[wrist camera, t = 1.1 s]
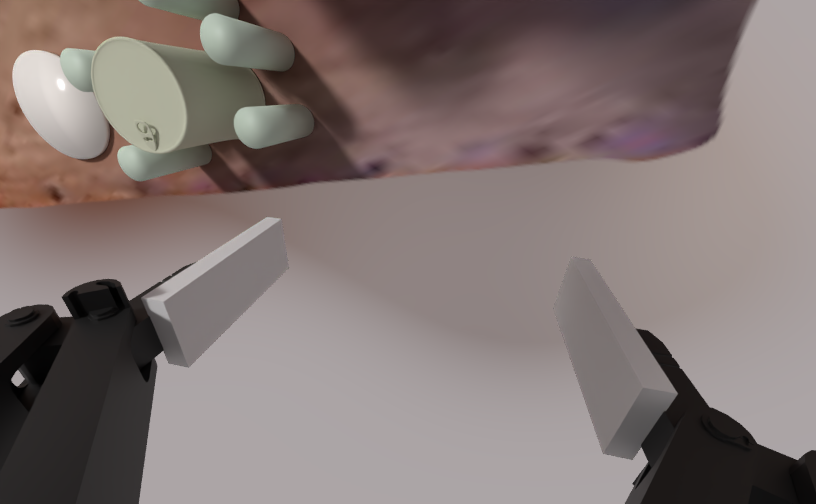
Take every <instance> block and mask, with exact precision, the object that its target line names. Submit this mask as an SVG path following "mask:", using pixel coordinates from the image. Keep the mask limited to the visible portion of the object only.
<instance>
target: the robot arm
mask: <svg viewBox="0 0 816 504" xmlns="http://www.w3.org/2000/svg"><path fill="white" fill-rule="evenodd" d="M288 268H289V266H288V259H287V252H286V246H285V239H284V232H283V226H282V219H279V218H271V217H266V218H264V219H263V220H262V221H260V222H258V223H257V224H255V225H254V226H252V227H251V228H249V229H247V230H246V231H244V232H243V233H241V234H240V235H238V236H236V237H235V238H233V239H232V240H230V241H229V242H227V243H225V244H224V245H222V246H221V247H219V248H218V249H216V250H215V251H213V252H211V253H210V254H208V255H207V256H205V257H204V258H202V259H201V260H199V261H197V262H195V263H192V264H190V265H187V266H185V267H183V268H181V269H179V270H178V271H176V272H175V273H173V274H172V276H168V277H167V278H165V279H164V280H163V281H162V282H159V283H157V284H156V285H154V286H152V287H151V288H149V289H148V290H146V291H144V292H143V293H141V294H140V295H138V296H136V297H135V298H133V299H132V300H130V301H129V300H128V298H127V296H126V294H125V292H124V289H123V287H122V285H121V283H120V282H119V281H117V280H114V279H103V280H96V281H92V282H88V283H84V284H82V285H79V286H77V287H75V288H73V289H71V290H70V291H68V292H66V293H65V294H64V295H63V297H62V299H63V300H64V302H65V304H66V306H67V307H68V309H69V311H70V313H71V314H72V316H73V317H61V318H60V317H59V316H58V315H57V313H56V311H55V310H54V308H53V306H49V305H33V306H26V307H22V308H21V309H20V308H18V309H15V310H13V311H11V312H10V313H7V314H5V315H3V316H1V317H0V504H139V497H140V489H141V481H142V475H143V467H144V460H145V452H146V445H147V438H148V430H149V423H150V416H151V409H152V401H153V394H154V386H155V379H156V371H157V363H156V361H155V357H156V356H157V355H158V354H160V353H161V352H162V351H164V353H165V356H166V358H167V361H168V363H169V364H174V365H179V366H184V367H190V366H191V365H192V364H193V363H194V362H195V361H196V360H197V359H198V358H199V357H200V356H201V355H202V354H203V353H204V352H205V351H206V350H207V349H208V348H209V347H210V346H211V345H212V344H213V343H214V342H215V341H216V340H217V339H218V338H219V337H220V336H221V335H222V334H223V333H224V332H225V331H226V330H227V329H228V328H229V327H230V326H231V325H232V324H233V323H234V322H235V321H236V320H237V319H238V318H239V317H240V316H241V315H242V314H243V313H244V312H245V311H246V310H247V309H248V308H249V307H250V306H251V305H252V304H253V303H254V302H255V301H256V300H257V299H258V298H259V297H260V296H261V295H262V294H263V293H264V292H265V291H266V290H267V289H268V288H269V287H270V286H271V285H272V284H273V283H274V282H275V281H276V280H277V279H278V278H279V277H280V276H281V275H282V274H283V273H284V272H285V271H286V270H287V269H288ZM553 309H554V312H555V315H556V318H557V321H558V324H559V327H560V330H561V333H562V336H563V339H564V341H565V344H566V347H567V350H568V353H569V356H570V359H571V362H572V365H573V368H574V371H575V374H576V376H577V379H578V382H579V385H580V388H581V391H582V394H583V397H584V399H585V402H586V405H587V408H588V411H589V414H590V417H591V420H592V423H593V426H594V429H595V432H596V434H597V437H598V440H599V443H600V446H601V449H602V452H603V454H607V455H612V456H616V457H621V458H626V459H631V460H633V458H634V457H635V455H636V454H637V453H638V451H639V450H640V448H641V447H642V449H643V451H644V453H645V456H646V458H647V460H648V463H647V465H646V466H645V467H644V469H643V470H642V471H641V473H640V474H639V475H638V477H637V478H636V480H635V481H634V482H633V485H634V487H633V489H632V491H631V493H630V495H629V497H628V499H627V501H626V502H625V504H816V451H814V450H811V451H809V452H807V453H806V454H804V455H803V456H802V457H801V458H800V459H799V460H796V459H793V458H791V457H788V456H786V455H783V454H781V453H779V452H776V451H774V450H771V449H769V448H766V447H764V446H761V445H759V444H757V443H756V441H755V439H754V438H753V437H752V435H751V434H750V433H749V432H748V431H747V430H746V429H745V428H744V427H743V426H742V425H741V424H740V423H738V422H737V421H735V420H734V419H732V418H731V417H729V416H728V415H726V414H724V413H722V412H720V411H718V410H716V409H714V408H710V407H709V406H708V405H707V403H706V402H705V401H704V399H703V398H702V397H701V395H700V394H699V392H698V391H697V389H696V388H695V387H694V385H693V384H692V383H691V381H690V380H689V378H688V377H687V376H686V374H685V373H684V371H683V370H682V369H680V368H679V365H678V363H677V362H676V361H675V359H674V358H672V355H671V354H670V352H669V351H668V349H667V348H666V346H665V345H664V344H663V342H661V341H660V340H659V339H658V338H656V337H655V336H654V335H653V334H652V333H650V332H649V331H647V330H641V329H635V327H634V326H633V324H632V323H631V321H630V319H629V318H628V316H627V315H626V313H625V312H624V310H623V309H622V307H621V306H620V304H619V303H618V301H617V300H616V298H615V296H614V295H613V293H612V292H611V290H610V289H609V287H608V286H607V284H606V283H605V281H604V280H603V278H602V277H601V275H600V273H599V272H598V271H597V269H596V267H595V266H594V264H593V263H592V261H591V260H590V259H584V258H576V257H571V258H570V261H569V264H568V267H567V270H566V273H565V276H564V279H563V281H562V284H561V287H560V290H559V293H558V296H557V299H556V302H555V305H554V308H553ZM17 370H19V371H20V373H21V374H22V376H23V377H24V378H25V380H24V381H23V382H22V383H21V384H20V385H19V386H18V387H17V386H15V385H14V384H13V383H12V381H11V378H12V377H13V375H14V374H15V372H16V371H17Z"/></svg>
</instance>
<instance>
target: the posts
mask: <svg viewBox="0 0 816 504" xmlns="http://www.w3.org/2000/svg"><path fill="white" fill-rule="evenodd" d="M139 1H140V2H141V3H143V4H144V5H146V6H150V7H153V8H157V9H161V10H165V11H168V12H172V13H176V14H180V15H183V16H187V17H191V18H195V19H199V20H202V24H201V28H200V38H201V42H202V45H203V48H204V49H205V51H206V53H207V54H208V56H209V57H210V58H211V59H212V60H213V61H215V62H216V63H218V64H221V65H228V66H237V67H246V68H255V69H264V70H273V71H286V70H288V69H290V68H291V66H292V65H293V62H294V58H295V52H294V47H293V45H292V43H291V41H290V40H289V38H288V37H287V36H285V35H284V34H282V33H279V32H276V31H273V30H270V29H266V28H263V27H260V26H257V25H254V24H250V23H247V22H244V21H241V20H238V17H239V4H238V0H139ZM95 52H96V51H92V50H83V49H74V48H66V49H64V50H63V51H62V53H61V55H60V64H61V68H62V70H63V73H64V75H65V76H66V78H67V79H68V81H69V82H70V83H71V84H72V85H73V86H74V87H75V88H77V89H78V90H80V91H83V92H94V90H93V85H92V79H91V64H92V59H93V56H94V54H95ZM234 128H235V132H236V134H237V136H238V138H239V139H240V140H241V141H242V142H243V143H244V144H245V145H246V146H248V147H250V148H253V149H260V148H264V147H268V146H271V145H275V144H279V143H283V142H287V141H291V140H295V139H299V138H303V137H306V136H308V135H310V134H311V133H312V131H313V128H314V118H313V116H312V114H311V112H310V111H309V109H308V108H306V107H305V106H303V105H301V104H288V105H271V106H255V107H244V108H241V109H240V110H238V111H237V113H236V115H235V117H234ZM211 158H212V152H211V149H210V146H209V145H208V144H205V145H200V146H195V147H190V148H185V149H180V150H176V151H172V152H170V153H165V154H154V153H149V152H146V151H143V150H141V149H139V148H137V147H135V146H134V145H130V146H124V147H122V148H120V149H119V151H118V161H119V164H120V166H121V168H122V170H123V171H124V172H125V173H126V174H127V175H128V176H129V177H130V178H132V179H134V180H136V181H145V180H148V179H152V178H156V177H160V176H164V175H167V174H171V173H175V172H179V171H183V170H186V169H190V168H194V167H198V166H202V165H205V164H208V163H209V162H210V161H211Z"/></svg>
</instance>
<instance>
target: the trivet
mask: <svg viewBox="0 0 816 504" xmlns="http://www.w3.org/2000/svg"><path fill="white" fill-rule="evenodd" d="M13 86H14V90H15V94H16V97H17V100H18V102H19V105H20V107H21V109H22V111H23V113H24V114H25V116H26V118H27V119H28V121H29V122H30V124H31V125H32V126H33V128H34V129H35V130H36V131H37V132H38V134H39V135H40V136H41V137H42V138H43V139H44V140H45V141H46V142H48V143H49V144H50V145H51V146H52V147H54V148H55V149H57V150H58V151H60V152H61V153H63V154H65V155H67V156H70V157H73V158H77V159H90V158H95V157H98V156H99V155H101V154H102V153H103V152H104V151H105V150H106V148H107V146H108V143H109V139H110V126H109V121H108V120H107V118H106V117H105V115H104V113H103V112H102V110H101V108H100V106H99V104H98V101H97V99H96V96H95V93H94V92H83V91H80V90H78V89H77V88H75V87H74V86H73V85H72V84H71V83H70V82H69V81H68V79H67V78H66V76H65V75H64V73H63V70H62V68H61V64H60V56H59V55H57V54H54V53H51V52H47V51H40V50H31V51H26V52H24V53H22V54H21V55H20V56H19V57H18V58H17V60H16V62H15V64H14V67H13Z"/></svg>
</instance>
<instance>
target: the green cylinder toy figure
mask: <svg viewBox="0 0 816 504" xmlns="http://www.w3.org/2000/svg"><path fill="white" fill-rule="evenodd" d="M91 79H92V85H93V90H94V93H95V96H96V99H97V101H98V104H99V106H100V108H101V110H102V112H103V113H104V115H105V117H106V118H107V120H108V121H109V122H110V124H111V125H112V126H113V128H114V129H115V130H116V131H117V132H118V133H119V134H120V135H121V136H122V137H123V138H124V139H125V140H127V141H128V142H129V143H131V144H132V145H134V146H135V147H137V148H139V149H141V150H143V151H146V152H149V153H154V154H165V153H170V152H172V151H176V150H180V149H185V148H190V147H195V146H200V145H205V144H210V143H215V142H221V141H226V140H233V139H239V138H238V136H237V134H236V132H235V128H234V117H235V115H236V113H237V111H238V110H240V109H241V108H244V107H255V106H266V105H265V97H264V93H263V89H262V87H261V84H260V82H259V80H258V78H257V77H256V75H255V74H254V72H253V71H252V70H251V68H246V67H237V66H228V65H221V64H218V63H216V62H215V61H213V60H212V59H211V58H210V57H209V56H208V54H207V53H206V51H201V50H194V49H187V48H181V47H175V46H169V45H162V44H156V43H151V42H145V41H140V40H136V39H132V38H128V37H113V38H110V39H108V40H106V41H104V42H103V43H102V44H101V45H100V46H99V47H98V48H97V50H96V52H95V54H94V56H93V59H92V64H91Z"/></svg>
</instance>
